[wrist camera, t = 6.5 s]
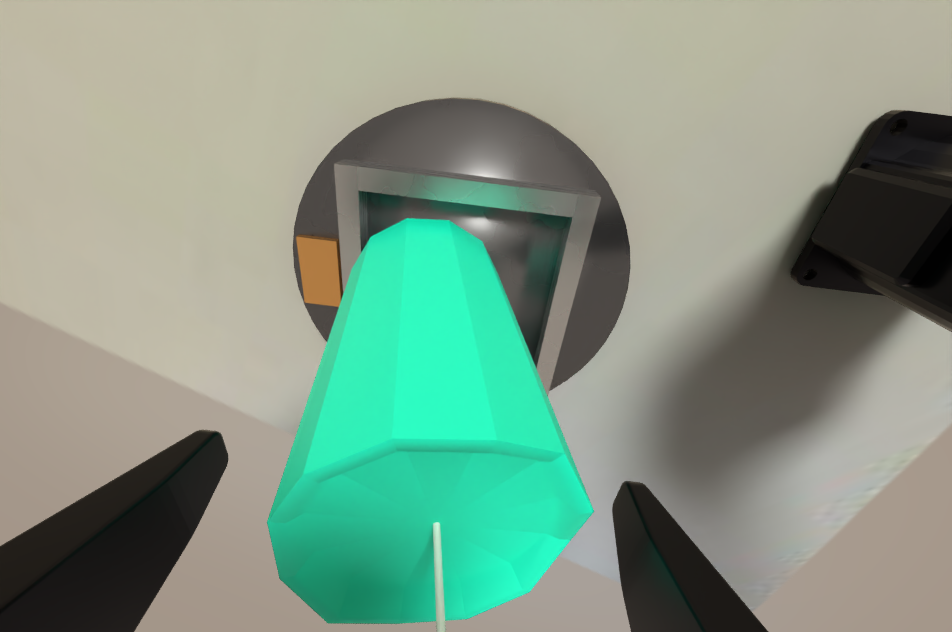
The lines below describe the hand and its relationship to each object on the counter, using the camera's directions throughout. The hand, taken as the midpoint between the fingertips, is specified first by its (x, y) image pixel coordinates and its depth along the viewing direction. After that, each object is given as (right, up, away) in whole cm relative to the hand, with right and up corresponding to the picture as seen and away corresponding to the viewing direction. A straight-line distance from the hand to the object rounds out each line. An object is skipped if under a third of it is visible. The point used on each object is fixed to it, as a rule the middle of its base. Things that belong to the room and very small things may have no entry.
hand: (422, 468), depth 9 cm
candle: (-1, +5, +7) cm, 9 cm away
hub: (+1, +5, +9) cm, 10 cm away
